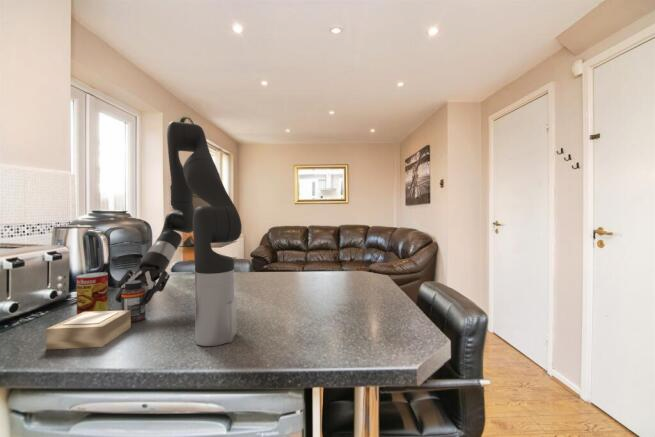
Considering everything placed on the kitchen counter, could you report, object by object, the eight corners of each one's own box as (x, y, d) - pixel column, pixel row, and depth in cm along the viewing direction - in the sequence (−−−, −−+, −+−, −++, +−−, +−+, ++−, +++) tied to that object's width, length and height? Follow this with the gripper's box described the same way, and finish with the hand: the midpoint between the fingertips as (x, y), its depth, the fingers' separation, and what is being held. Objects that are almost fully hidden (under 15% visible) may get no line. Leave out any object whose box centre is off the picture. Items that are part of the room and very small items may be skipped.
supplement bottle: (125, 317, 89) (124, 280, 89) (147, 315, 91) (147, 278, 91) (118, 324, 83) (118, 284, 83) (142, 321, 85) (142, 283, 85)
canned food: (70, 314, 91) (69, 276, 91) (95, 307, 99) (95, 271, 99) (89, 316, 89) (89, 277, 89) (114, 308, 97) (113, 272, 97)
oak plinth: (130, 327, 81) (130, 309, 81) (102, 346, 69) (102, 325, 69) (83, 329, 80) (83, 311, 79) (46, 349, 68) (46, 327, 68)
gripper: (133, 250, 96) (101, 294, 84) (172, 251, 94) (145, 296, 82) (145, 263, 101) (117, 307, 90) (183, 264, 99) (159, 309, 88)
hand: (130, 302), depth 86 cm, fingers open, 8 cm apart
